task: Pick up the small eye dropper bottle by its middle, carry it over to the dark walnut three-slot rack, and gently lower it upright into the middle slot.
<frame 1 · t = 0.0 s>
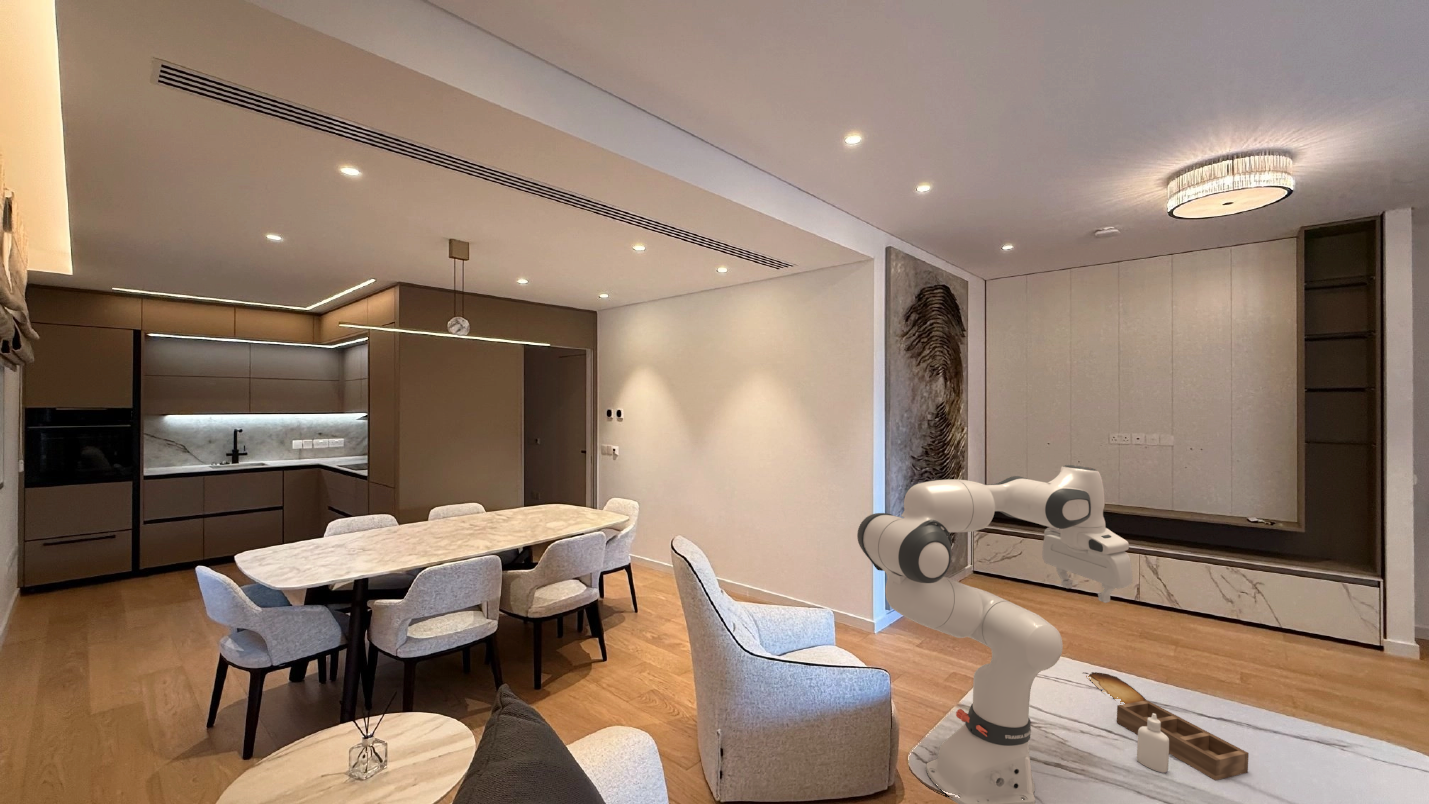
hand: (1085, 594, 132), 39 cm above the table, tool pointing down, fingers open, 8 cm apart
parchment: (1120, 695, 163), on the table
eye dropper bottle: (1152, 766, 131), on the table
slot rack: (1177, 745, 139), on the table
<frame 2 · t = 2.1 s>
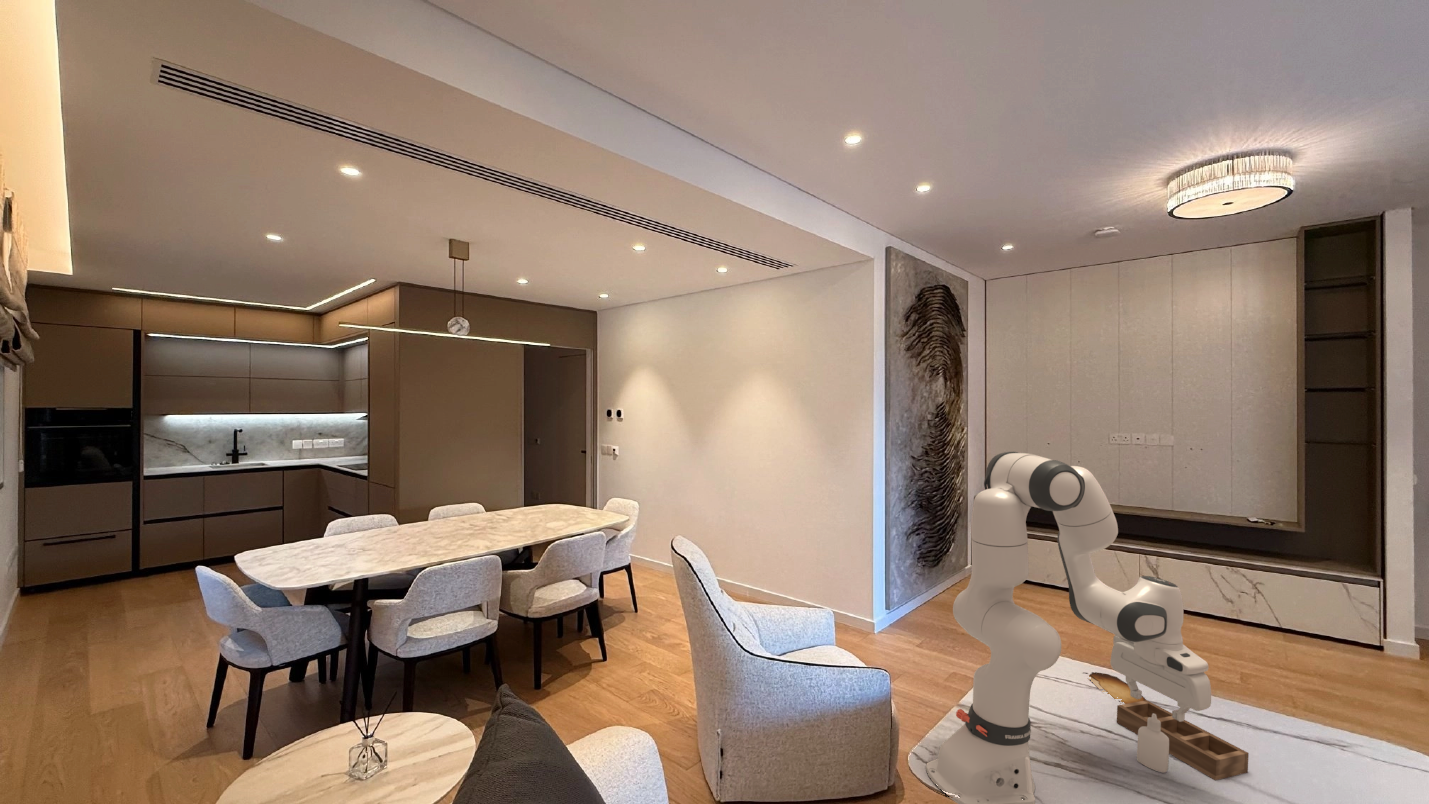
hand: (1156, 708, 131), 13 cm above the table, tool pointing down, fingers open, 8 cm apart
nothing on the table moved.
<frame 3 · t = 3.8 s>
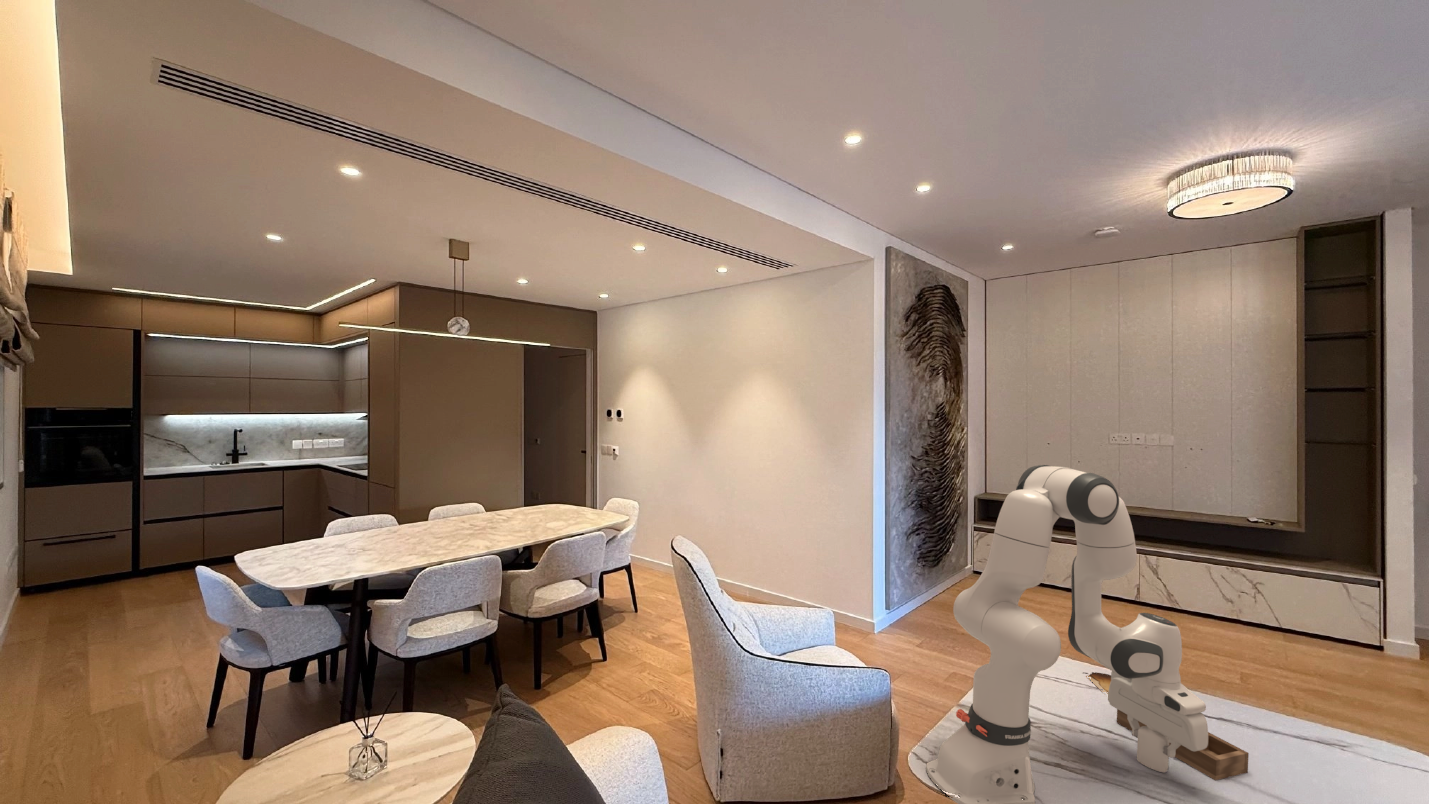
hand: (1153, 746, 131), 5 cm above the table, tool pointing down, fingers closed on eye dropper bottle, 6 cm apart
eye dropper bottle: (1152, 766, 131), on the table, touching gripper
everything else where it was.
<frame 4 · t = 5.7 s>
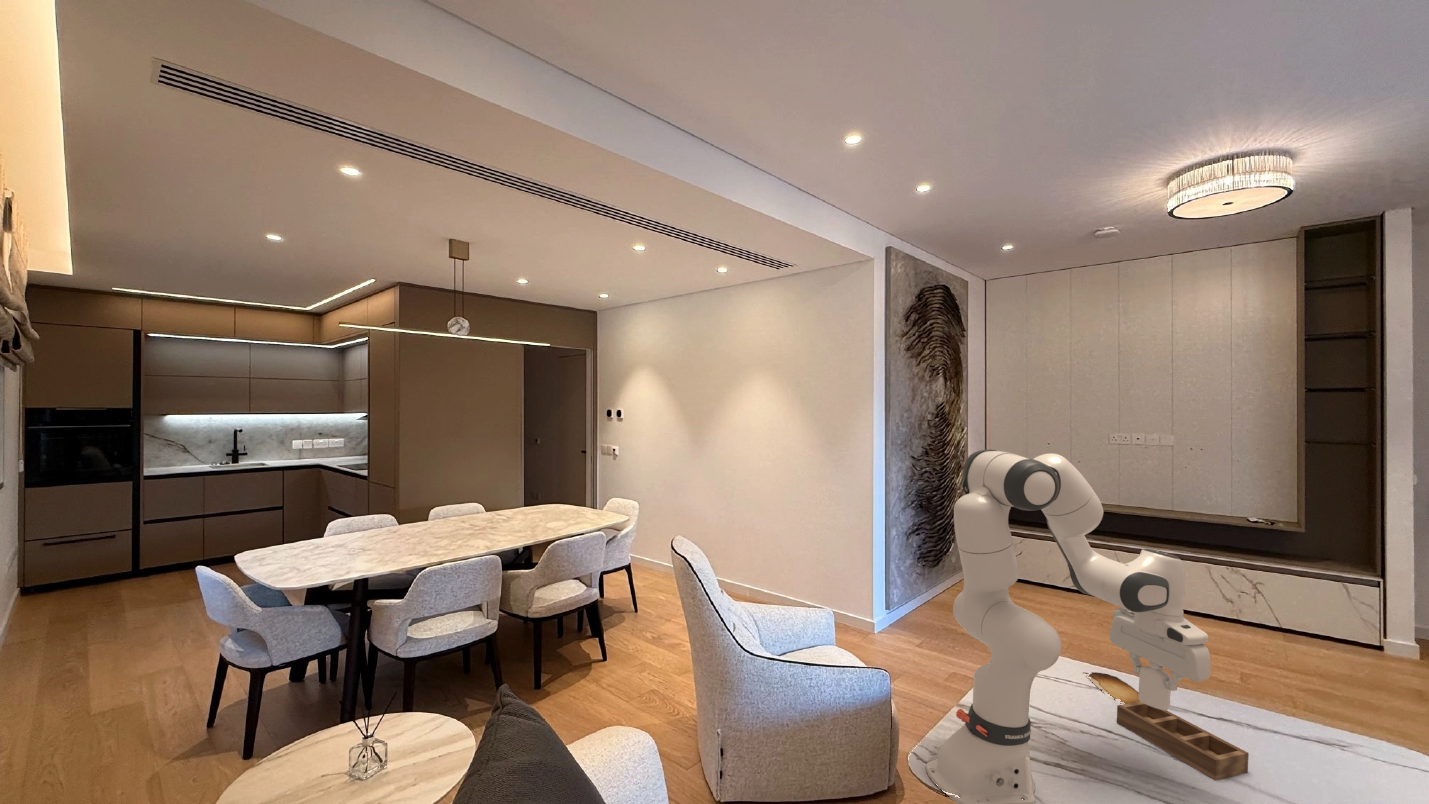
hand: (1154, 681, 131), 20 cm above the table, tool pointing down, fingers closed on eye dropper bottle, 6 cm apart
eye dropper bottle: (1153, 705, 131), point 14 cm above the table, touching gripper
everything else where it was.
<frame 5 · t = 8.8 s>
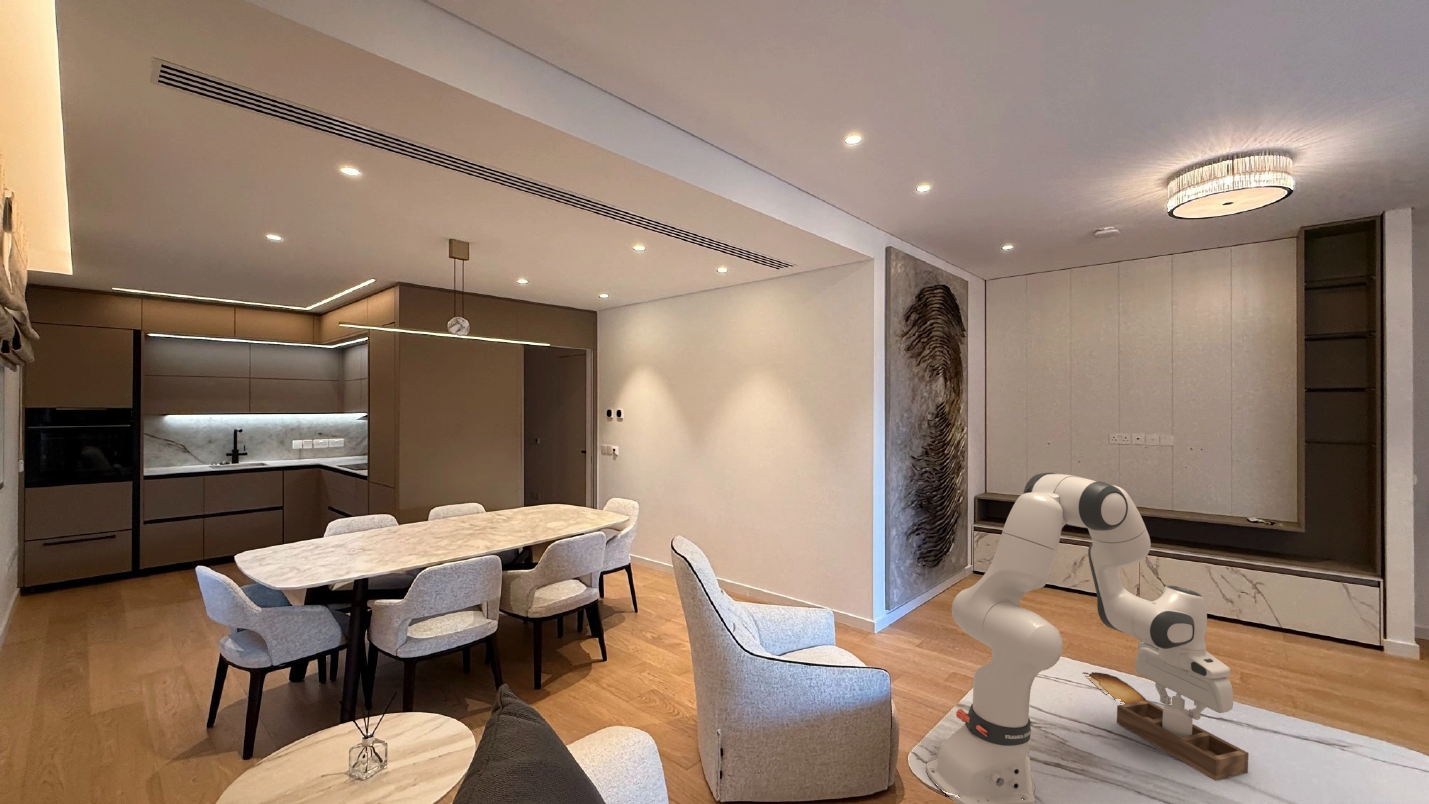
hand: (1179, 710, 139), 9 cm above the table, tool pointing down, fingers open, 5 cm apart
eye dropper bottle: (1176, 742, 139), point 1 cm above the table, touching gripper, slot rack
everything else where it was.
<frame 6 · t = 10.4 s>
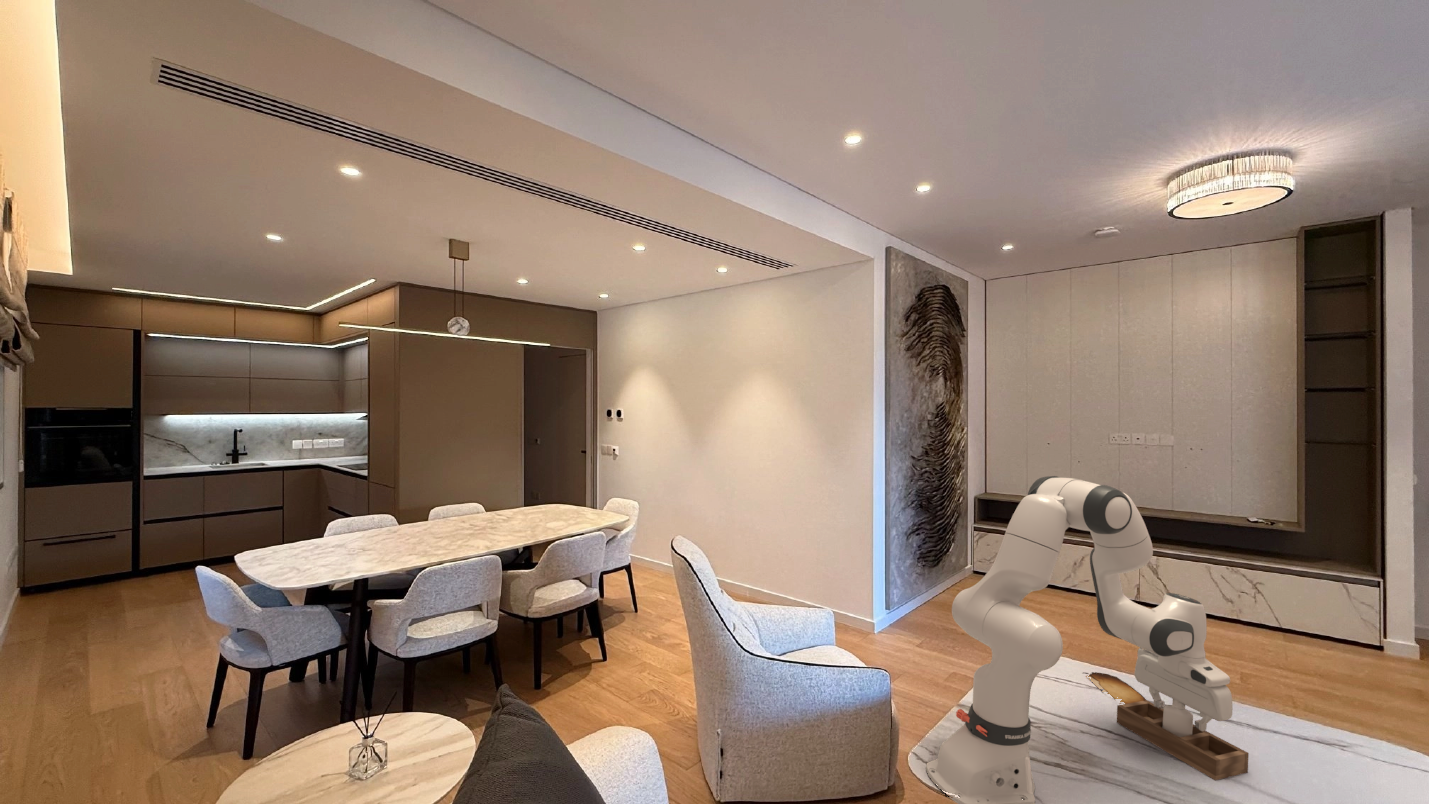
hand: (1178, 718, 139), 7 cm above the table, tool pointing down, fingers open, 8 cm apart
eye dropper bottle: (1176, 742, 139), point 1 cm above the table, touching slot rack
everything else where it was.
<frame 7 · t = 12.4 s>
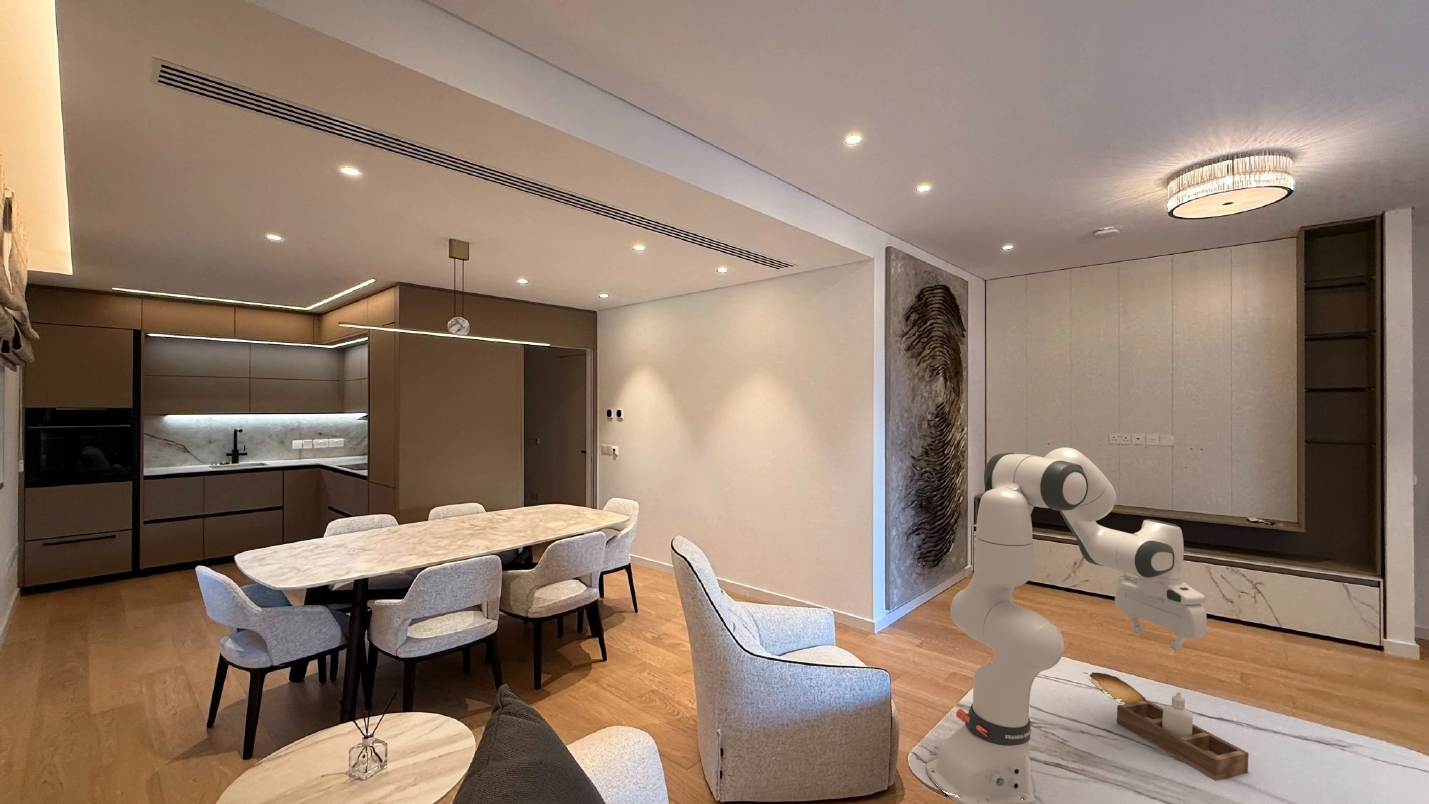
hand: (1156, 640, 142), 24 cm above the table, tool pointing down, fingers open, 8 cm apart
nothing on the table moved.
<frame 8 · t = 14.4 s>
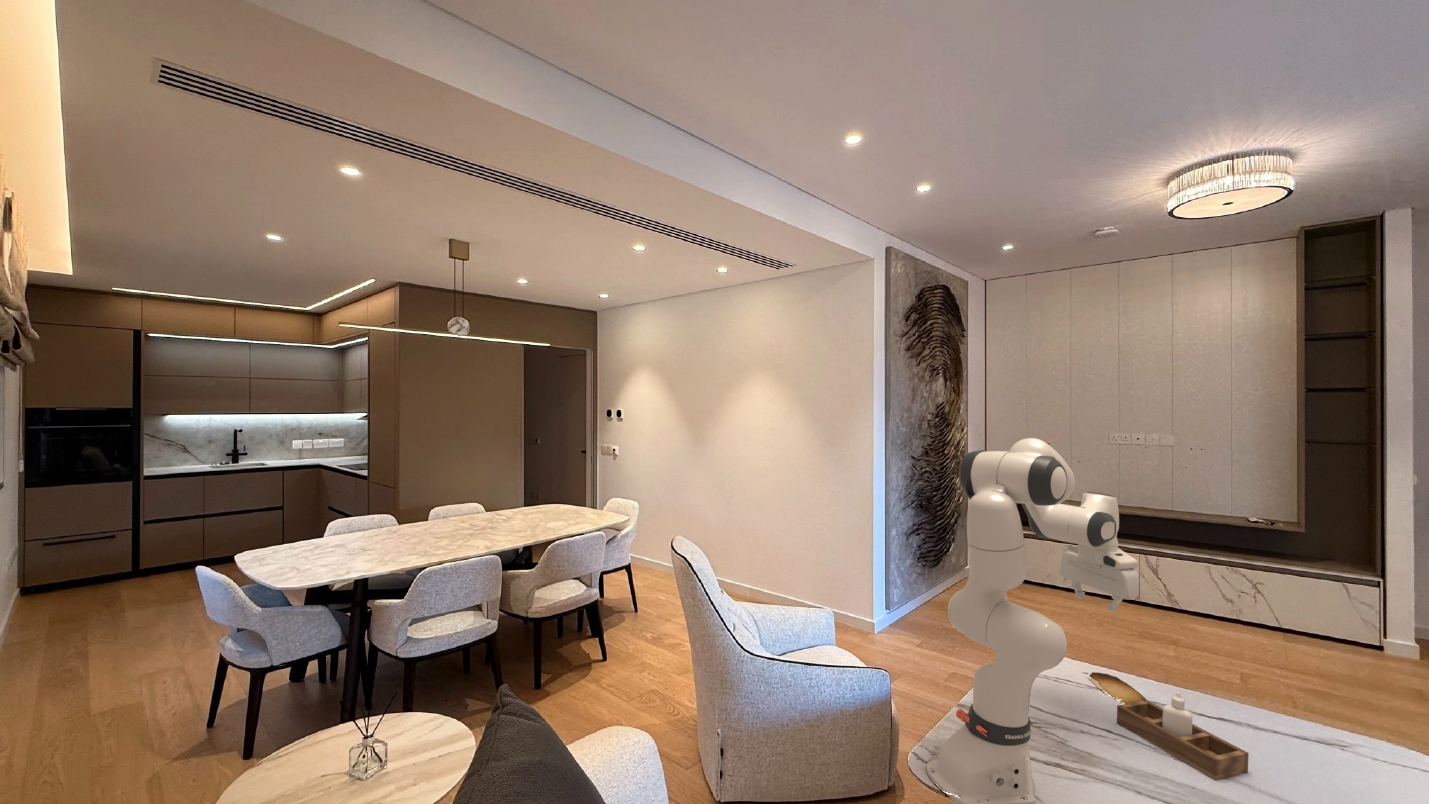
hand: (1095, 604, 153), 29 cm above the table, tool pointing down, fingers open, 8 cm apart
nothing on the table moved.
at the end: eye dropper bottle 0.3 cm off-centre on the slot rack, point 0.8 cm above the slot rack's base; eye dropper bottle tilted 0°; the gripper is holding nothing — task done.
